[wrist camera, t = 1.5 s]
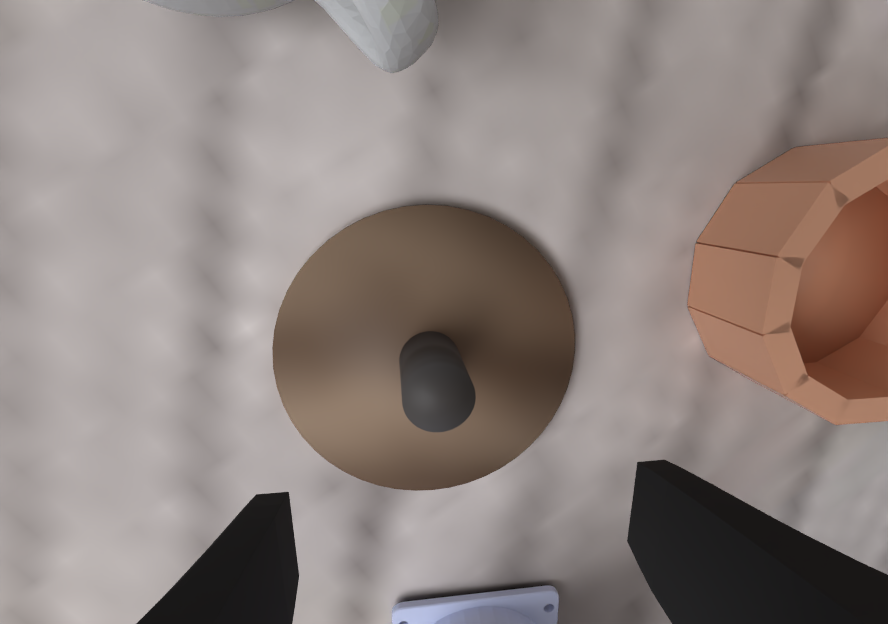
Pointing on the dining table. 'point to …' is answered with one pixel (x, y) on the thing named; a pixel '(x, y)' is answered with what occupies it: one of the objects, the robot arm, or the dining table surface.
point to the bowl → (803, 279)
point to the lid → (423, 347)
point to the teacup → (349, 23)
